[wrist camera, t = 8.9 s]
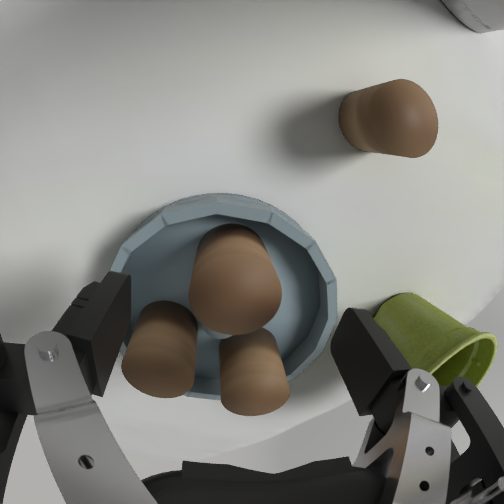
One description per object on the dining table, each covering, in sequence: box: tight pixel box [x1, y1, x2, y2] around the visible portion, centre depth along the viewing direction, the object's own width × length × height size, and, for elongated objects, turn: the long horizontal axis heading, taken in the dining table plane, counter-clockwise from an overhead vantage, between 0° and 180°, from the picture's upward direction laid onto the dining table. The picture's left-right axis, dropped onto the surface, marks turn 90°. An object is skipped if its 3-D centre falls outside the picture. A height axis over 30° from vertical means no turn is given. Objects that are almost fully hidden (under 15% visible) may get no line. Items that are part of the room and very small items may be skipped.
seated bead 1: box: [121, 300, 198, 398], centre depth 15 cm, size 4×4×4 cm
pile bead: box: [339, 79, 438, 158], centre depth 13 cm, size 4×4×4 cm
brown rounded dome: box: [188, 223, 282, 335], centre depth 14 cm, size 4×4×4 cm
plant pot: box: [373, 293, 497, 387], centre depth 17 cm, size 9×9×9 cm
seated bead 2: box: [219, 327, 290, 416], centre depth 16 cm, size 4×4×4 cm
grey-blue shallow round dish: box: [110, 193, 337, 400], centre depth 17 cm, size 14×14×3 cm
